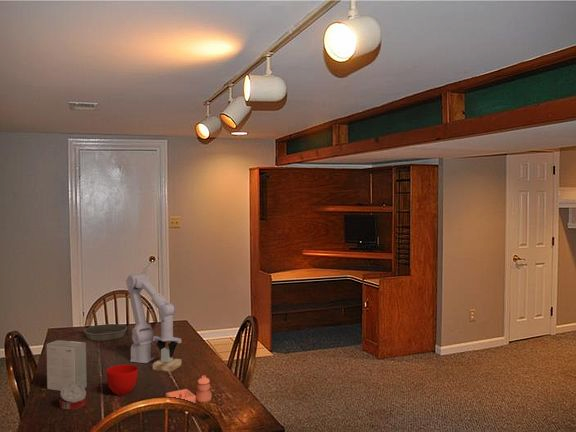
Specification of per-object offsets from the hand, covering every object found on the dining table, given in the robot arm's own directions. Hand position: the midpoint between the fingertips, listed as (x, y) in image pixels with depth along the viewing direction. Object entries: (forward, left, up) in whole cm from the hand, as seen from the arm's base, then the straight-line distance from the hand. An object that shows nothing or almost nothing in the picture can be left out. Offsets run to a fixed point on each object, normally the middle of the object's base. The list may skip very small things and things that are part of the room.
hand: (167, 356), depth 271 cm
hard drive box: (-27, -39, -6) cm, 48 cm away
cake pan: (-65, +42, -6) cm, 78 cm away
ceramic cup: (-3, -35, -6) cm, 36 cm away
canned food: (-12, -54, -6) cm, 56 cm away
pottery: (+32, -37, -6) cm, 49 cm away
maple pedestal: (0, 0, -5) cm, 5 cm away
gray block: (0, 0, -2) cm, 2 cm away
